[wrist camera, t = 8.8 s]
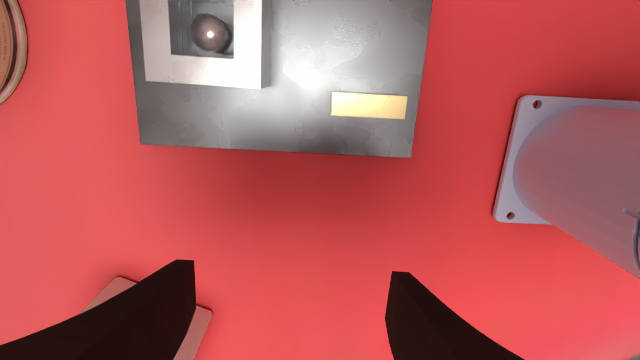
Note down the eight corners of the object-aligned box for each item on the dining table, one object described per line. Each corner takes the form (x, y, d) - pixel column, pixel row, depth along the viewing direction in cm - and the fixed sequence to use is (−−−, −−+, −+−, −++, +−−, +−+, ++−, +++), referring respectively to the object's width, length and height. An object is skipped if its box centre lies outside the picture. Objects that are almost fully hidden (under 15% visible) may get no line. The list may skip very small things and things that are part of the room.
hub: (272, -18, 17) (262, -41, 14) (270, 86, 19) (260, 88, 15) (170, -26, 17) (135, -52, 14) (176, 80, 19) (146, 81, 15)
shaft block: (437, -72, 17) (467, -107, 14) (407, 154, 21) (425, 170, 17) (124, -94, 17) (76, -136, 14) (147, 141, 20) (114, 154, 17)
